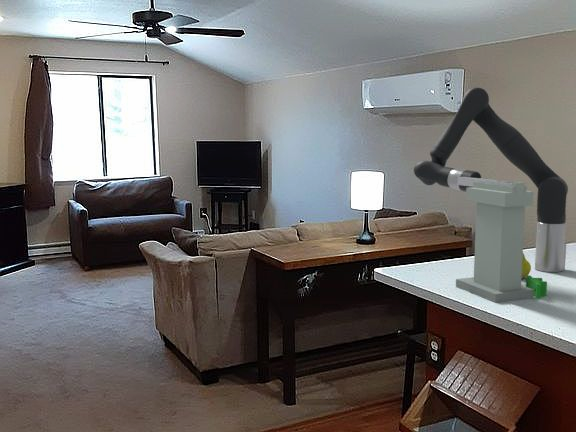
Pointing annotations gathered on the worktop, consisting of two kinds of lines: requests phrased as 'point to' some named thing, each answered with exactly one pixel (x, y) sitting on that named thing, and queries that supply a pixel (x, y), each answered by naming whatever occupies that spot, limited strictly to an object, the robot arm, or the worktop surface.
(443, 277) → the worktop surface
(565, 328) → the worktop surface
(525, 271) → the fruit
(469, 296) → the worktop surface
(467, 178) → the lever bar
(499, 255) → the post
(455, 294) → the worktop surface
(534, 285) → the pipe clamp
